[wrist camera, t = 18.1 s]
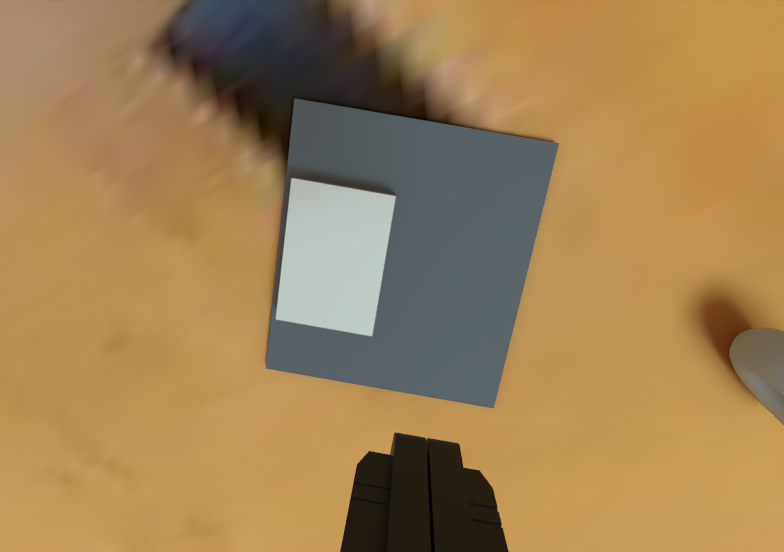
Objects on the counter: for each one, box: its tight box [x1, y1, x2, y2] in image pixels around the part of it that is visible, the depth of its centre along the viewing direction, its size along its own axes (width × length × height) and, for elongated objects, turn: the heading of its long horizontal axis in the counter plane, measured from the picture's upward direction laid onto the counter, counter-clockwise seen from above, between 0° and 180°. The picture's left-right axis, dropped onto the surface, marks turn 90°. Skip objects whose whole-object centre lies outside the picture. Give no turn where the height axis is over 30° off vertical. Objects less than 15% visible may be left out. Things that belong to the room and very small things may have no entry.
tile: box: [276, 178, 397, 336], centre depth 31 cm, size 10×2×7 cm
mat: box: [266, 98, 559, 408], centre depth 32 cm, size 20×18×1 cm
